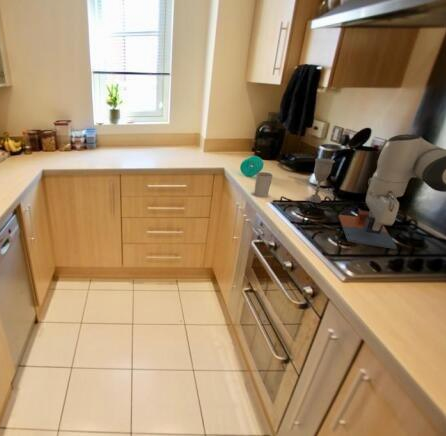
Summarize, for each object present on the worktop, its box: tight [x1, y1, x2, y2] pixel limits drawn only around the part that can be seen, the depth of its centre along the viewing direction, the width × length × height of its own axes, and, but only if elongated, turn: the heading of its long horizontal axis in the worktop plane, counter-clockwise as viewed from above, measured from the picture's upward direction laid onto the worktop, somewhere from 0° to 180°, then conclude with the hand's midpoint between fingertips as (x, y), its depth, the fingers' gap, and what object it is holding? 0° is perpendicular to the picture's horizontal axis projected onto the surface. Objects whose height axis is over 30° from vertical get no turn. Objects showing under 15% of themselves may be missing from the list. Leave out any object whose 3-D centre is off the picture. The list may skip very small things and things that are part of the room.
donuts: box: [239, 155, 264, 178], centre depth 174 cm, size 10×10×10 cm
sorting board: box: [338, 214, 398, 250], centre depth 112 cm, size 13×22×1 cm, turn 154°
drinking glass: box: [253, 171, 273, 198], centre depth 145 cm, size 7×7×10 cm
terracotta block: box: [356, 210, 370, 225], centre depth 115 cm, size 4×4×4 cm
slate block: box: [363, 217, 384, 234], centre depth 105 cm, size 4×4×4 cm
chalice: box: [308, 157, 336, 204], centre depth 136 cm, size 7×7×18 cm
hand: (373, 226), depth 105 cm, fingers closed on slate block, 4 cm apart
